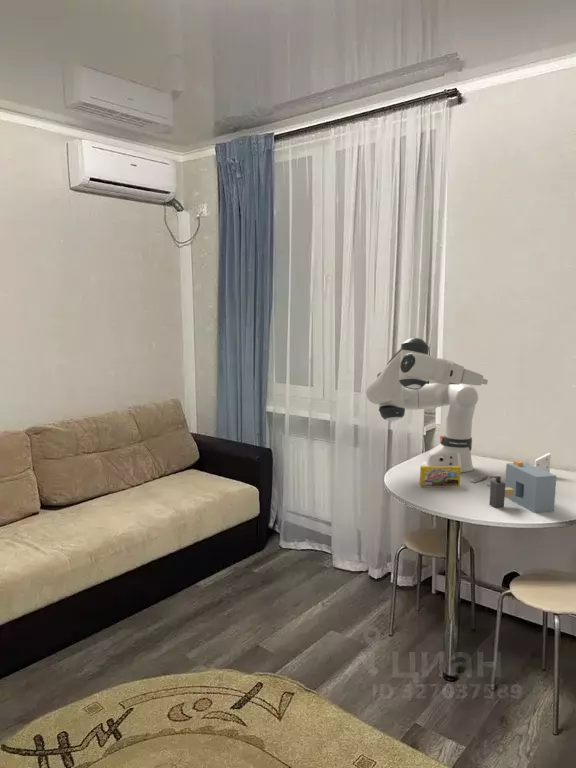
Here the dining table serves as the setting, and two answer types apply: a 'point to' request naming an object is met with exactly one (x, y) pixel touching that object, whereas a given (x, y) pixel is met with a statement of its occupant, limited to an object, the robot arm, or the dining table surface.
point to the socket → (531, 486)
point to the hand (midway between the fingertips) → (478, 380)
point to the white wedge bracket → (543, 462)
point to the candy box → (440, 476)
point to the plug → (499, 493)
